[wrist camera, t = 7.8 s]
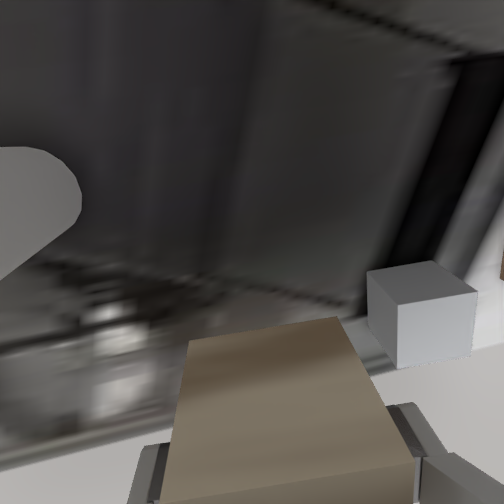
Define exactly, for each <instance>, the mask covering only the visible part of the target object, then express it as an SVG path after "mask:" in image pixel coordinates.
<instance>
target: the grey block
mask: <svg viewBox="0 0 504 504" xmlns="http://www.w3.org/2000/svg"><path fill="white" fill-rule="evenodd" d="M477 298H478V291H476V290H475V289H474V288H472V287H471V286H469V285H468V284H466V283H465V282H463V281H462V280H460V279H459V278H457V277H456V276H454V275H453V274H451V273H450V272H448V271H447V270H445V269H444V268H442V267H441V266H439V265H438V264H436V263H435V262H433V261H432V260H431V261H426V262H420V263H414V264H408V265H402V266H396V267H390V268H385V269H379V270H373V271H367V303H368V327H369V329H370V330H371V331H372V333H373V334H374V336H375V337H376V339H377V340H378V342H379V343H380V345H381V346H382V348H383V349H384V351H385V352H386V353H387V355H388V356H389V358H390V359H391V361H392V362H393V364H394V365H395V367H396V368H397V369H400V368H406V367H412V366H418V365H424V364H430V363H436V362H442V361H447V360H453V359H459V358H465V357H470V356H471V349H472V340H473V332H474V323H475V315H476V306H477Z"/></svg>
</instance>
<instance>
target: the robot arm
mask: <svg viewBox="0 0 504 504" xmlns="http://www.w3.org/2000/svg"><path fill="white" fill-rule="evenodd" d="M386 408H387V410H388V412H389V414H390V416H391V417H392V419H393V421H394V423H395V425H396V427H397V428H398V430H399V432H400V434H401V436H402V438H403V440H404V441H405V443H406V445H407V447H408V449H409V451H410V452H411V454H412V456H413V458H414V460H415V462H416V463H415V480H414V496H413V503H416V502H420V504H504V485H503V484H501V483H500V482H498V481H496V480H495V479H493V478H492V477H490V476H489V475H487V474H486V473H484V472H483V471H481V470H480V469H478V468H477V467H475V466H474V465H472V464H471V463H469V462H467V461H466V460H465V459H463V458H461V457H460V456H458V455H457V454H455V453H454V452H453V453H448V452H447V450H446V449H445V447H444V446H443V444H442V443H441V441H440V440H439V438H438V437H437V435H436V434H435V432H434V431H433V429H432V428H431V426H430V425H429V423H428V422H427V421H426V419H425V417H424V416H423V414H422V413H421V411H420V410H419V408H418V407H417V405H416V404H415V403H413V402H410V403H404V404H398V405H390V406H386ZM169 447H170V442H168V443H160V444H154V445H148V446H144V448H143V449H142V451H141V454H140V458H139V461H138V465H137V469H136V472H135V476H134V480H133V483H132V487H131V491H130V494H129V498H128V502H127V504H159V500H160V495H161V490H162V484H163V479H164V474H165V468H166V463H167V458H168V452H169Z"/></svg>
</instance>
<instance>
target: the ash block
mask: <svg viewBox="0 0 504 504" xmlns="http://www.w3.org/2000/svg"><path fill="white" fill-rule="evenodd" d="M415 463H416V462H415V460H414V458H413V456H412V454H411V452H410V451H409V449H408V447H407V445H406V443H405V441H404V440H403V438H402V436H401V434H400V432H399V430H398V428H397V427H396V425H395V423H394V421H393V419H392V417H391V416H390V414H389V412H388V410H387V408H386V406H385V405H384V403H383V401H382V399H381V397H380V395H379V393H378V392H377V390H376V388H375V386H374V384H373V382H372V381H371V379H370V377H369V375H368V373H367V371H366V369H365V368H364V366H363V364H362V362H361V360H360V358H359V357H358V355H357V353H356V351H355V349H354V347H353V346H352V344H351V342H350V340H349V338H348V336H347V334H346V333H345V331H344V329H343V327H342V325H341V323H340V322H339V320H338V318H337V316H336V317H330V318H324V319H318V320H312V321H306V322H299V323H293V324H287V325H281V326H275V327H269V328H263V329H257V330H251V331H245V332H239V333H233V334H227V335H221V336H215V337H209V338H203V339H197V340H191V341H189V345H188V351H187V356H186V361H185V367H184V372H183V377H182V383H181V388H180V393H179V399H178V404H177V409H176V415H175V420H174V425H173V431H172V437H171V441H170V447H169V452H168V458H167V463H166V468H165V474H164V479H163V484H162V490H161V495H160V500H159V504H413V496H414V480H415Z"/></svg>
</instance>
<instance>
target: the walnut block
mask: <svg viewBox="0 0 504 504" xmlns="http://www.w3.org/2000/svg"><path fill="white" fill-rule="evenodd" d="M500 279H502V280H503V281H504V252H503V259H502V266H501V273H500Z"/></svg>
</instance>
